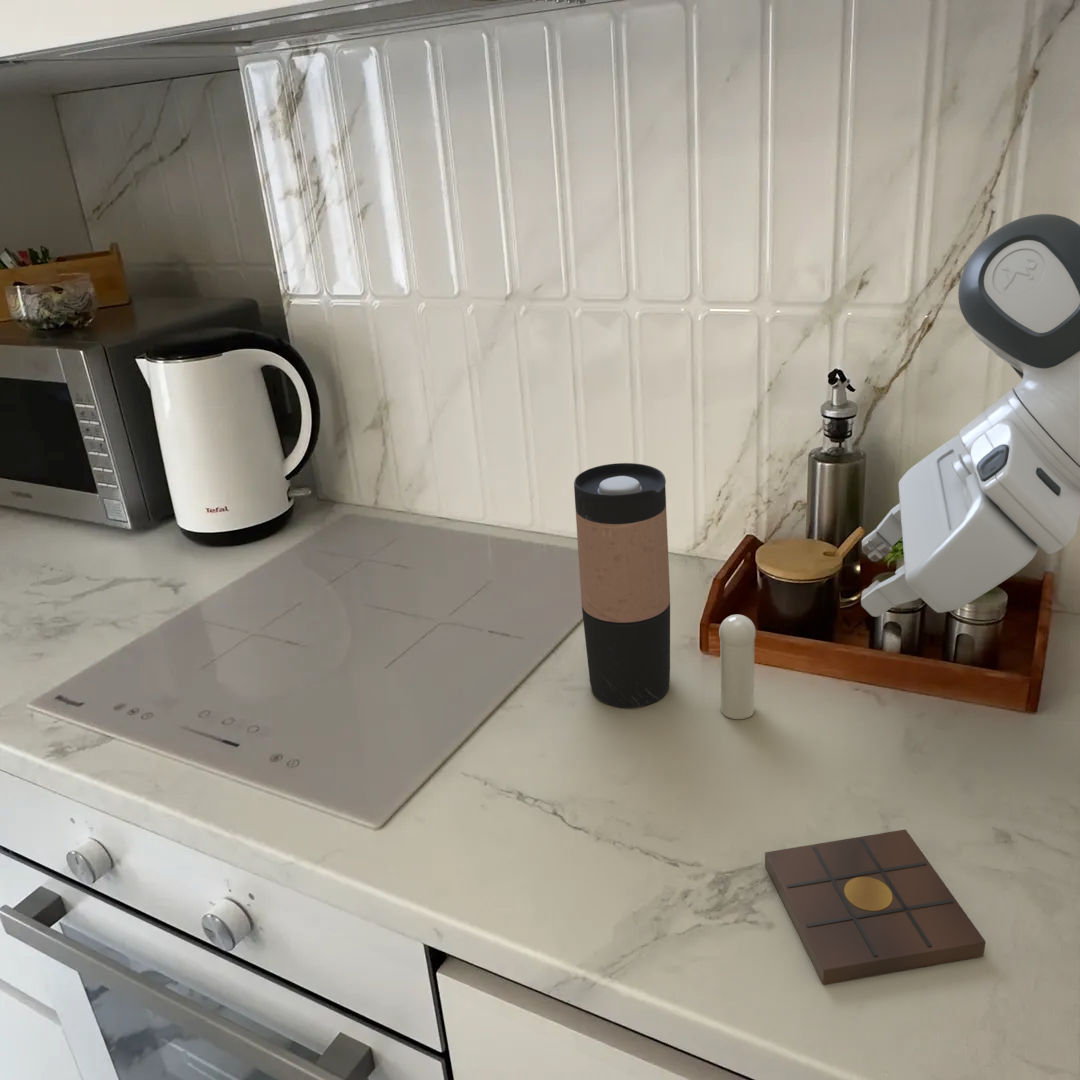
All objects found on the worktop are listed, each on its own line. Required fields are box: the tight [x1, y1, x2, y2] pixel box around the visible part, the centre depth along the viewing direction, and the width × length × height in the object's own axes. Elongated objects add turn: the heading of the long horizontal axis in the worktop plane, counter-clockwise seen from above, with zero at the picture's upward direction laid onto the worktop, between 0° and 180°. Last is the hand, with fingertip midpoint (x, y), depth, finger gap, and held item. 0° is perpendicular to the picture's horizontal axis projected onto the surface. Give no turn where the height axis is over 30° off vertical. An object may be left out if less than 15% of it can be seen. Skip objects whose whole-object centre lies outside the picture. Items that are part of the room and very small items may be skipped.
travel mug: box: [573, 462, 671, 709], centre depth 84 cm, size 8×8×20 cm
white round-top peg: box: [718, 613, 757, 720], centre depth 81 cm, size 3×3×9 cm
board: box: [764, 829, 986, 985], centre depth 62 cm, size 10×10×1 cm
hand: (866, 578), depth 76 cm, fingers open, 8 cm apart
